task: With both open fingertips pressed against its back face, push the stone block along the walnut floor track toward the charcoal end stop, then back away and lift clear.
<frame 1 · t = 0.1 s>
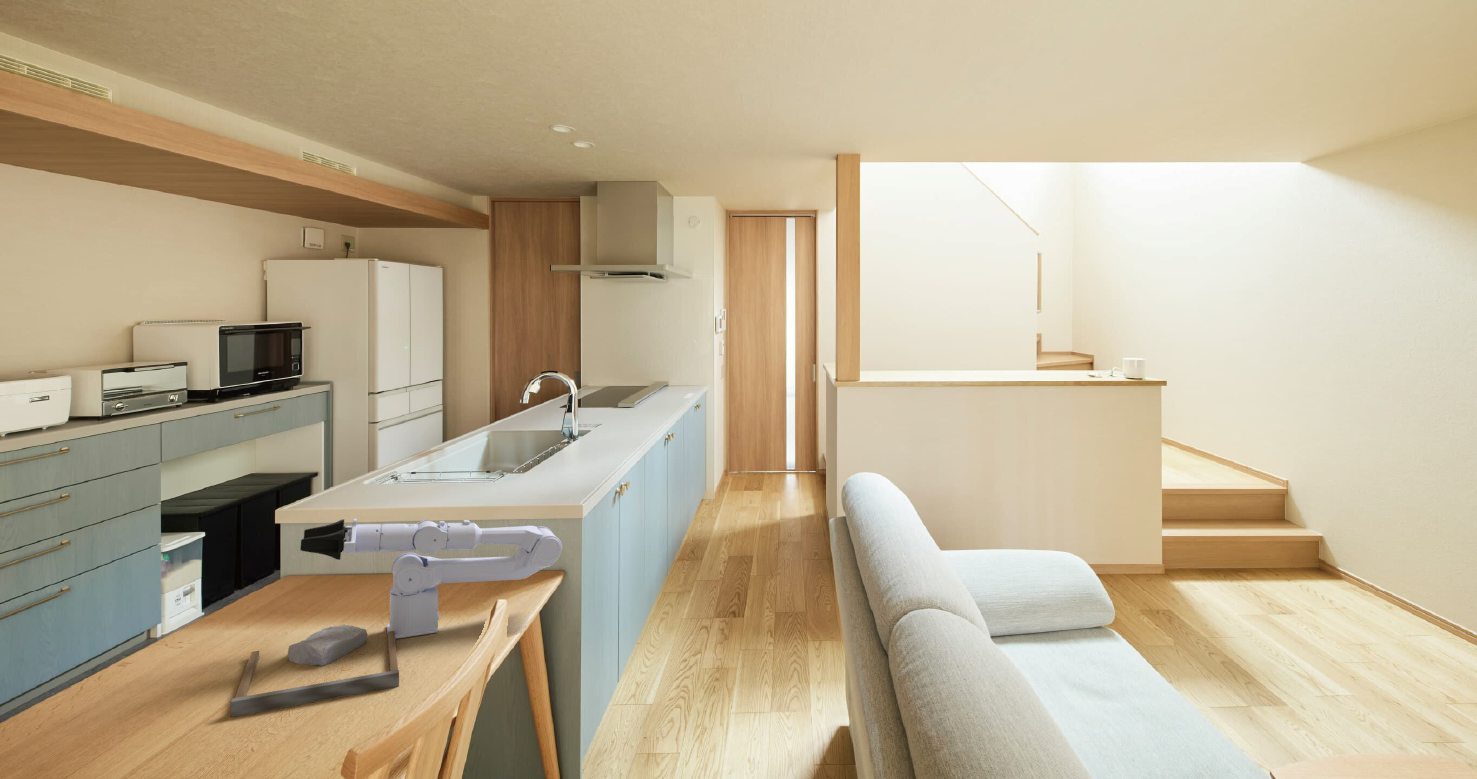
hand: (302, 539, 135), 22 cm above the table, tool horizontal, fingers open, 7 cm apart
stone block: (326, 653, 135), on the table
floor track: (323, 670, 127), on the table
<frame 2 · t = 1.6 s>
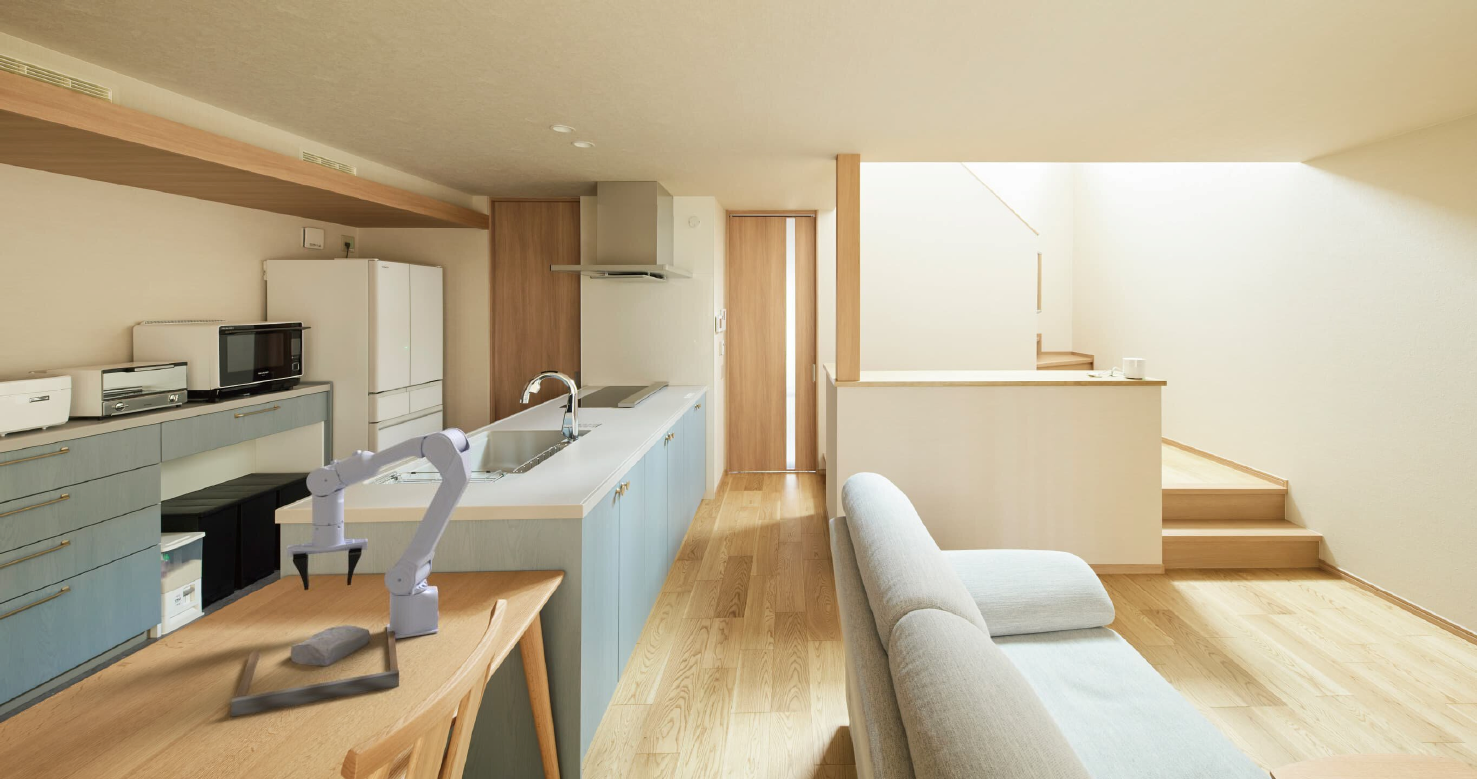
hand: (328, 586, 144), 9 cm above the table, tool pointing down, fingers open, 7 cm apart
nothing on the table moved.
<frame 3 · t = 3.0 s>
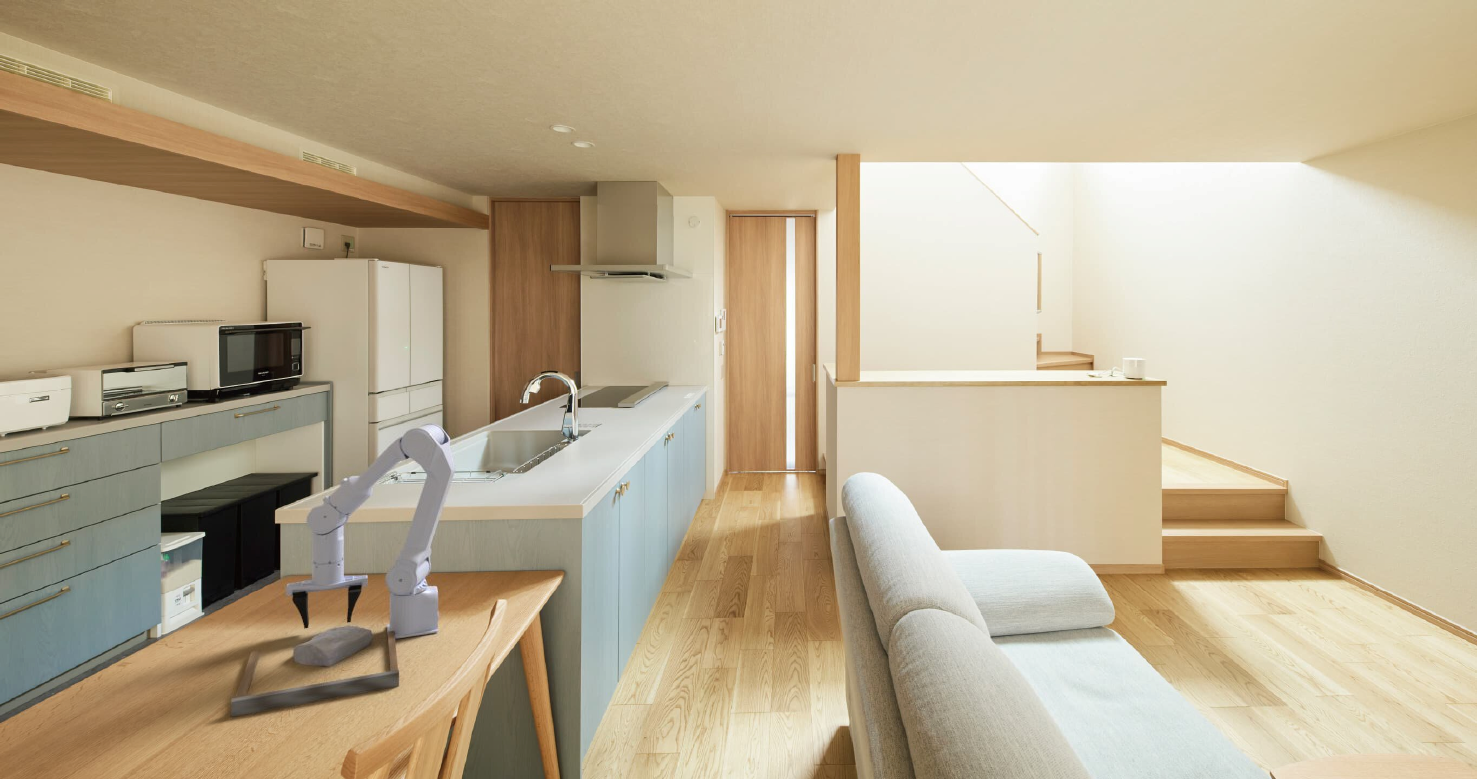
hand: (328, 623, 144), 2 cm above the table, tool pointing down, fingers open, 7 cm apart
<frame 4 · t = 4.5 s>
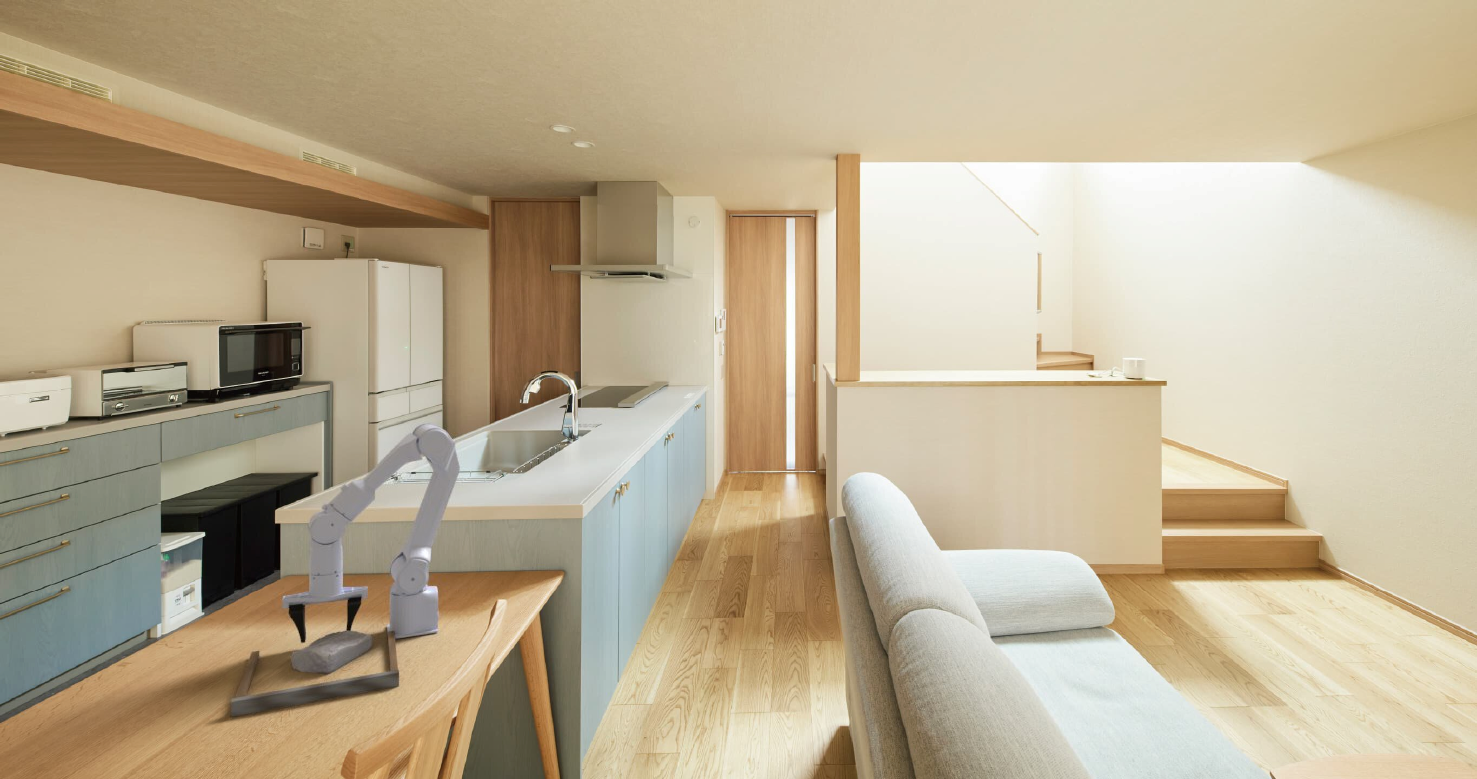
hand: (326, 637, 137), 2 cm above the table, tool pointing down, fingers open, 7 cm apart
stone block: (330, 660, 132), on the table
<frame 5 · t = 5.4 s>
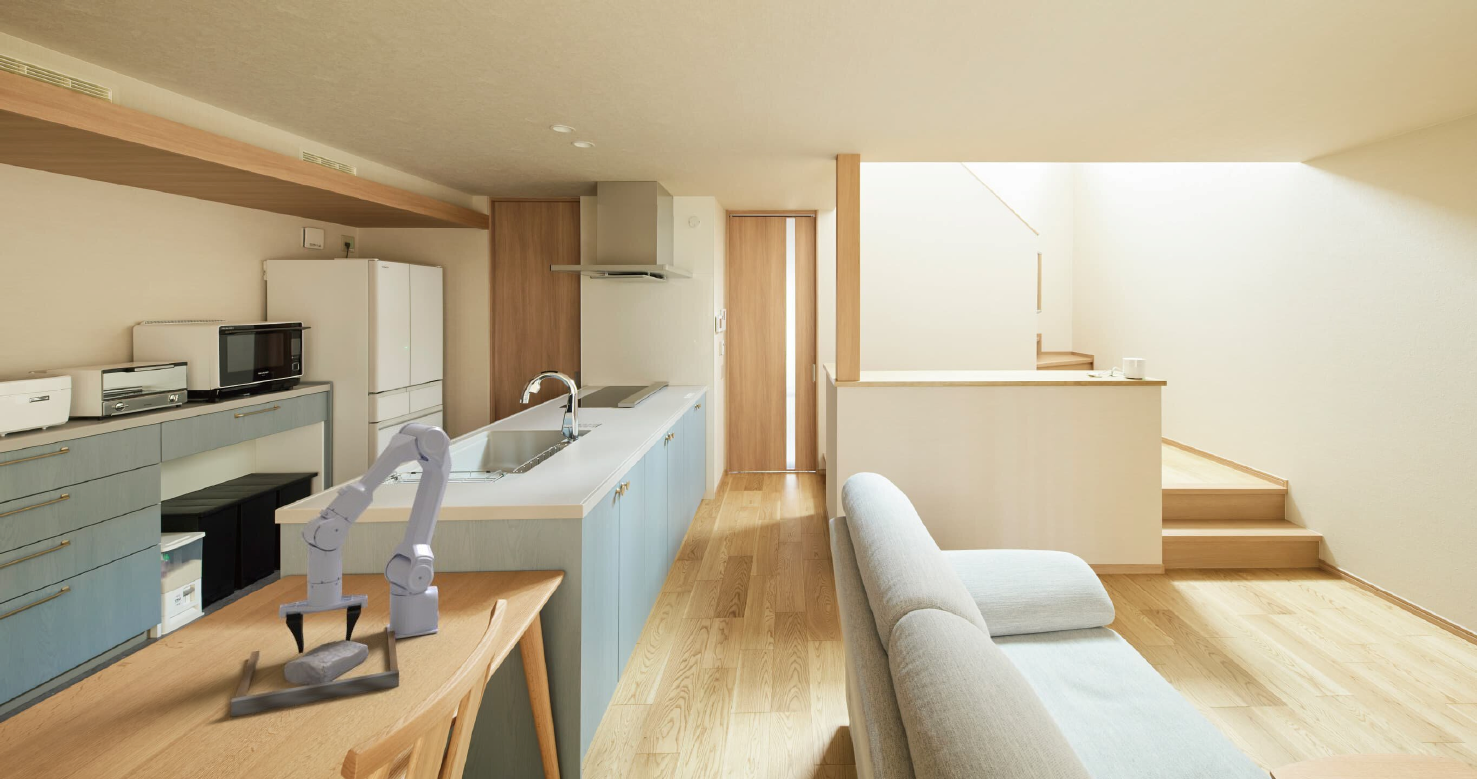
hand: (324, 647, 132), 2 cm above the table, tool pointing down, fingers open, 7 cm apart
stone block: (324, 671, 128), on the table
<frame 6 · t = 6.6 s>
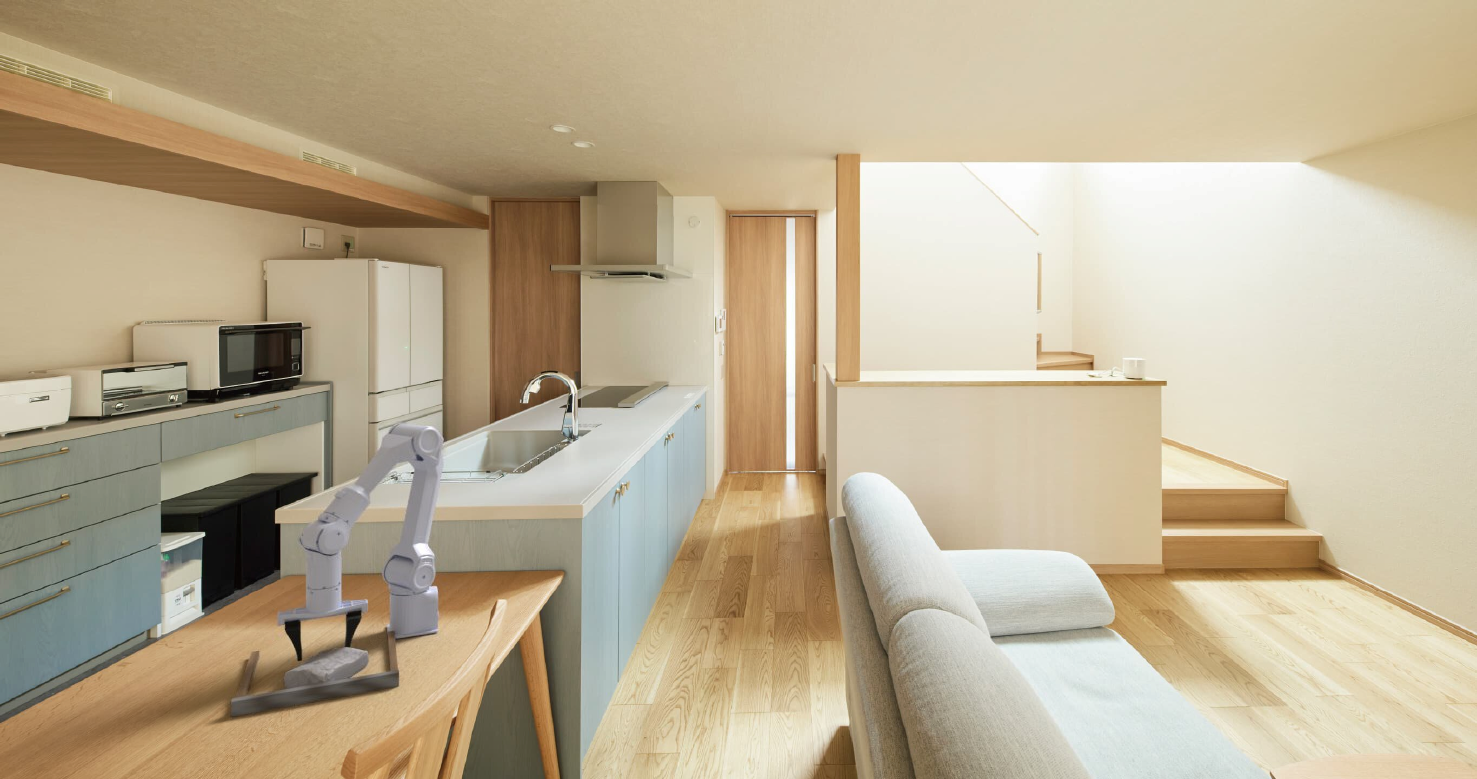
hand: (323, 654, 130), 2 cm above the table, tool pointing down, fingers open, 7 cm apart
stone block: (325, 679, 125), on the table
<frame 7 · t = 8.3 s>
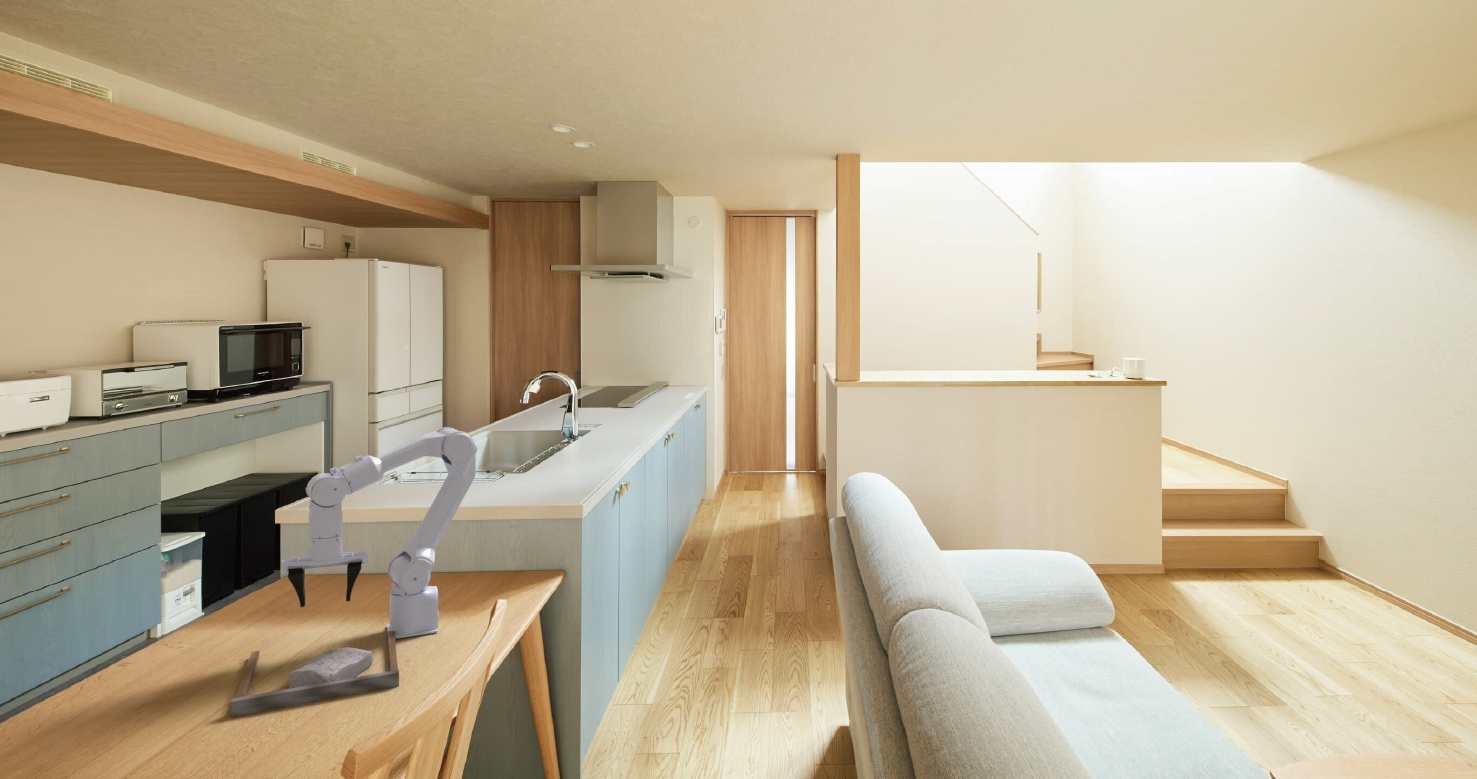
hand: (325, 602, 135), 9 cm above the table, tool pointing down, fingers open, 7 cm apart
nothing on the table moved.
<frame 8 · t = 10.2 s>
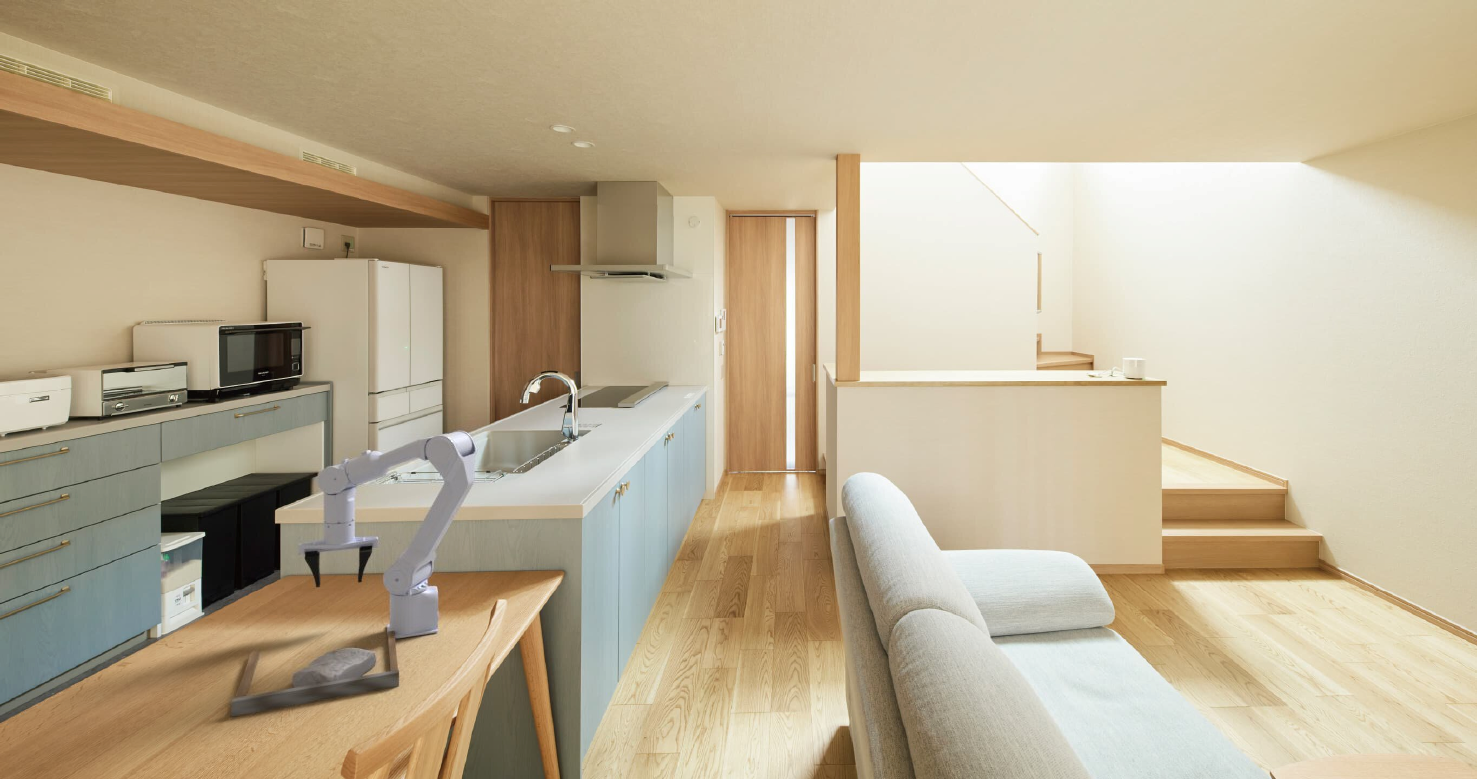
hand: (339, 583, 146), 9 cm above the table, tool pointing down, fingers open, 7 cm apart
at the end: stone block inside the target area (1.9 cm from its centre), on the table; stone block tilted 0°; the gripper is holding nothing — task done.
